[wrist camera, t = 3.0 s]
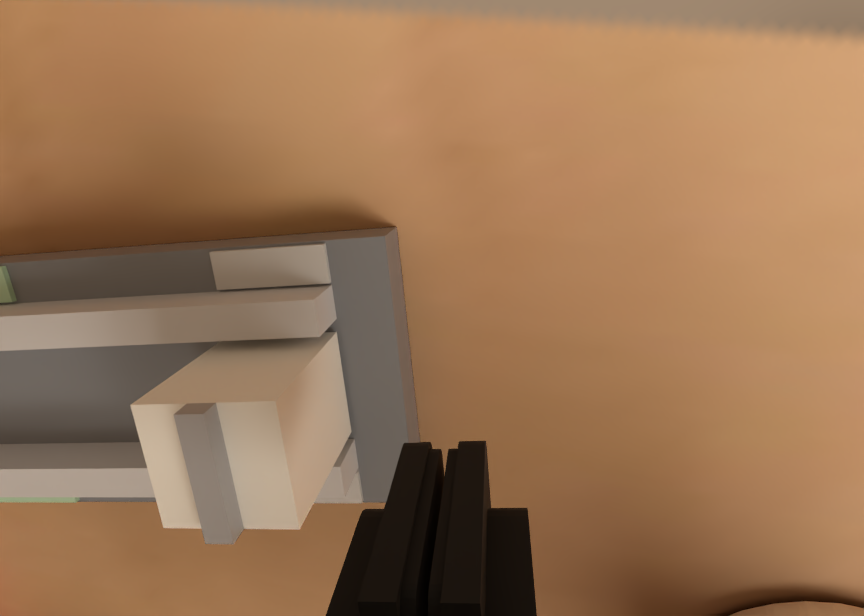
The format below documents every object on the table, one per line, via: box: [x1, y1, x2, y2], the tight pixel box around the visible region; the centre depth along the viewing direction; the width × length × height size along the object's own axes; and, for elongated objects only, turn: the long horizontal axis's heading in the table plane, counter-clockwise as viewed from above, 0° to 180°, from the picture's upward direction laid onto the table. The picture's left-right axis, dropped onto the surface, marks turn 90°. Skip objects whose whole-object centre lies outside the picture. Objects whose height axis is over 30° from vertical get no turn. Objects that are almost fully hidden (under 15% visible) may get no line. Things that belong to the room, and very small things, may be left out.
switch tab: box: [130, 332, 351, 544], centre depth 17 cm, size 4×4×6 cm
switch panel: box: [0, 227, 420, 503], centre depth 21 cm, size 10×24×4 cm, turn 96°
